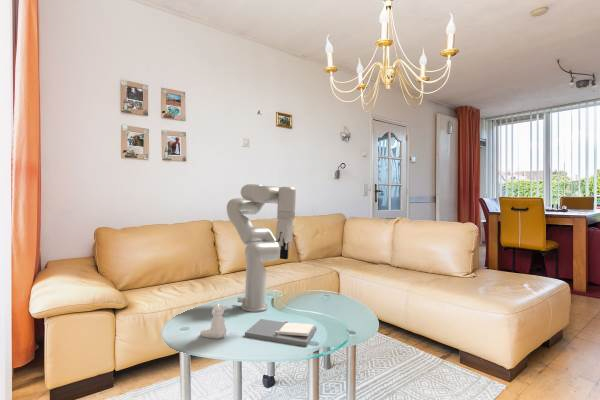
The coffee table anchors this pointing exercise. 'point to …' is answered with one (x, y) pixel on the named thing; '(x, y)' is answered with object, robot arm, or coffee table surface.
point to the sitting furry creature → (216, 324)
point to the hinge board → (276, 333)
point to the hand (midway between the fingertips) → (283, 258)
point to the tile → (296, 329)
